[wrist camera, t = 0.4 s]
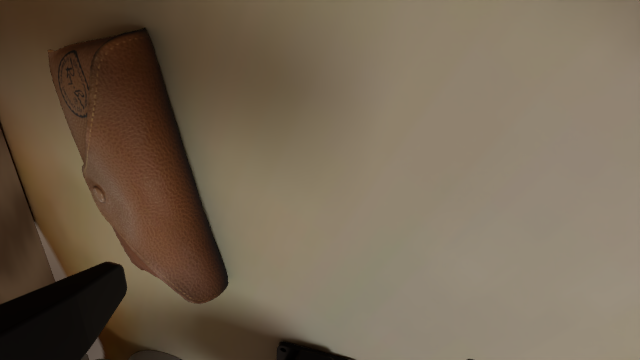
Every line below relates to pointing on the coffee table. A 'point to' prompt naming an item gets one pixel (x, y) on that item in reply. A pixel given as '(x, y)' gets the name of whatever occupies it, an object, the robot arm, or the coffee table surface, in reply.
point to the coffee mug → (150, 356)
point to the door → (18, 237)
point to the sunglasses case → (138, 160)
